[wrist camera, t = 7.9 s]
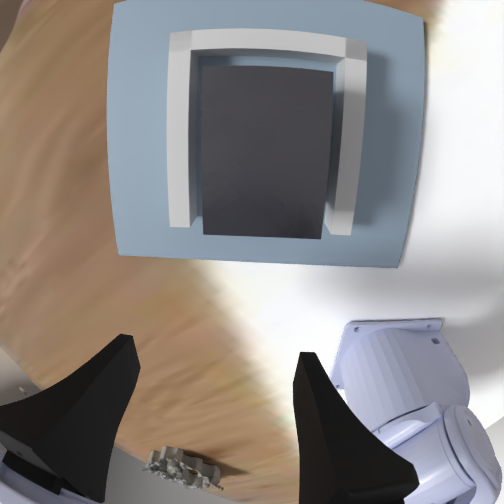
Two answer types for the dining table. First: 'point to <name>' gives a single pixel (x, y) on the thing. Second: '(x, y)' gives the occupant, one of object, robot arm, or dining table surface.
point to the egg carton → (182, 469)
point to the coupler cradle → (264, 54)
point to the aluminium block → (265, 150)
